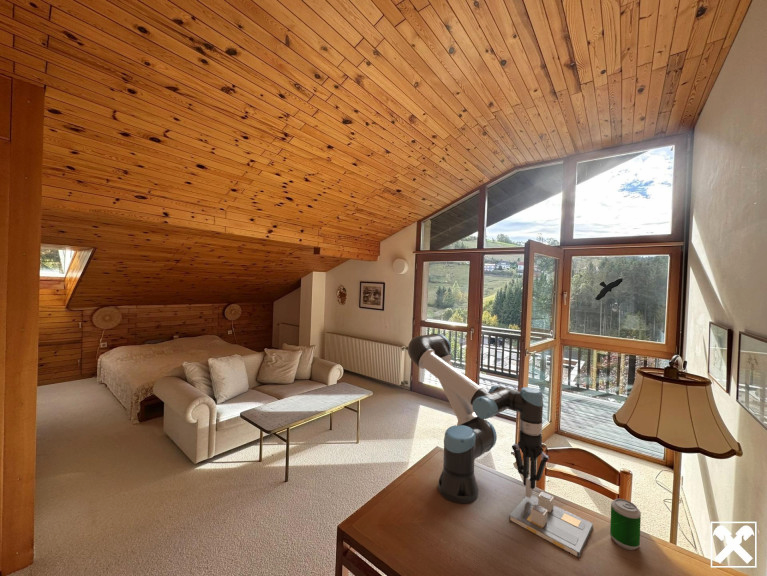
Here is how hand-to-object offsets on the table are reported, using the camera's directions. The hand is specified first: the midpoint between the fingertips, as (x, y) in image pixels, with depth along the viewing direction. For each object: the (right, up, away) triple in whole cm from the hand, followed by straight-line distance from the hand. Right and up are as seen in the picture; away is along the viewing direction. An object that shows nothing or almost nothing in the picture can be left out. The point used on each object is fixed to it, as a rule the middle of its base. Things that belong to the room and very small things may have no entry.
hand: (529, 495), depth 118 cm
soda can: (+23, -4, -16) cm, 28 cm away
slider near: (-2, -2, -11) cm, 11 cm away
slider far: (+4, -2, -4) cm, 6 cm away
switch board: (+3, -4, -9) cm, 10 cm away
